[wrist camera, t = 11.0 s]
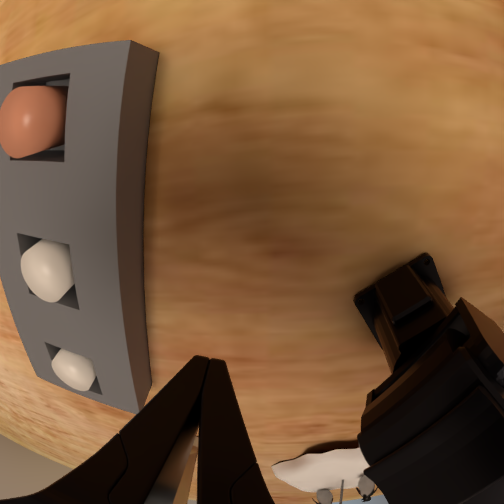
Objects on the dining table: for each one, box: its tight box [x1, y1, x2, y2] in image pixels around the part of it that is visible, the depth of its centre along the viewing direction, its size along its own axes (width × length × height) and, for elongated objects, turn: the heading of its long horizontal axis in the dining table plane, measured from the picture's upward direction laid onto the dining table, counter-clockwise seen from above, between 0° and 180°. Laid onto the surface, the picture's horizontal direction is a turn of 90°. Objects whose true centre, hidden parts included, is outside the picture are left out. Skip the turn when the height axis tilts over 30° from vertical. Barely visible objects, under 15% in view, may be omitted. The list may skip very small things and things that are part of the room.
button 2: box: [52, 348, 96, 391], centre depth 22 cm, size 4×4×4 cm
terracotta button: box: [0, 86, 69, 158], centre depth 13 cm, size 4×4×4 cm
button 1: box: [21, 239, 75, 302], centre depth 18 cm, size 4×4×4 cm
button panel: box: [0, 40, 159, 414], centre depth 19 cm, size 28×12×4 cm, turn 171°
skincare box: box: [173, 436, 199, 504], centre depth 26 cm, size 6×4×12 cm
